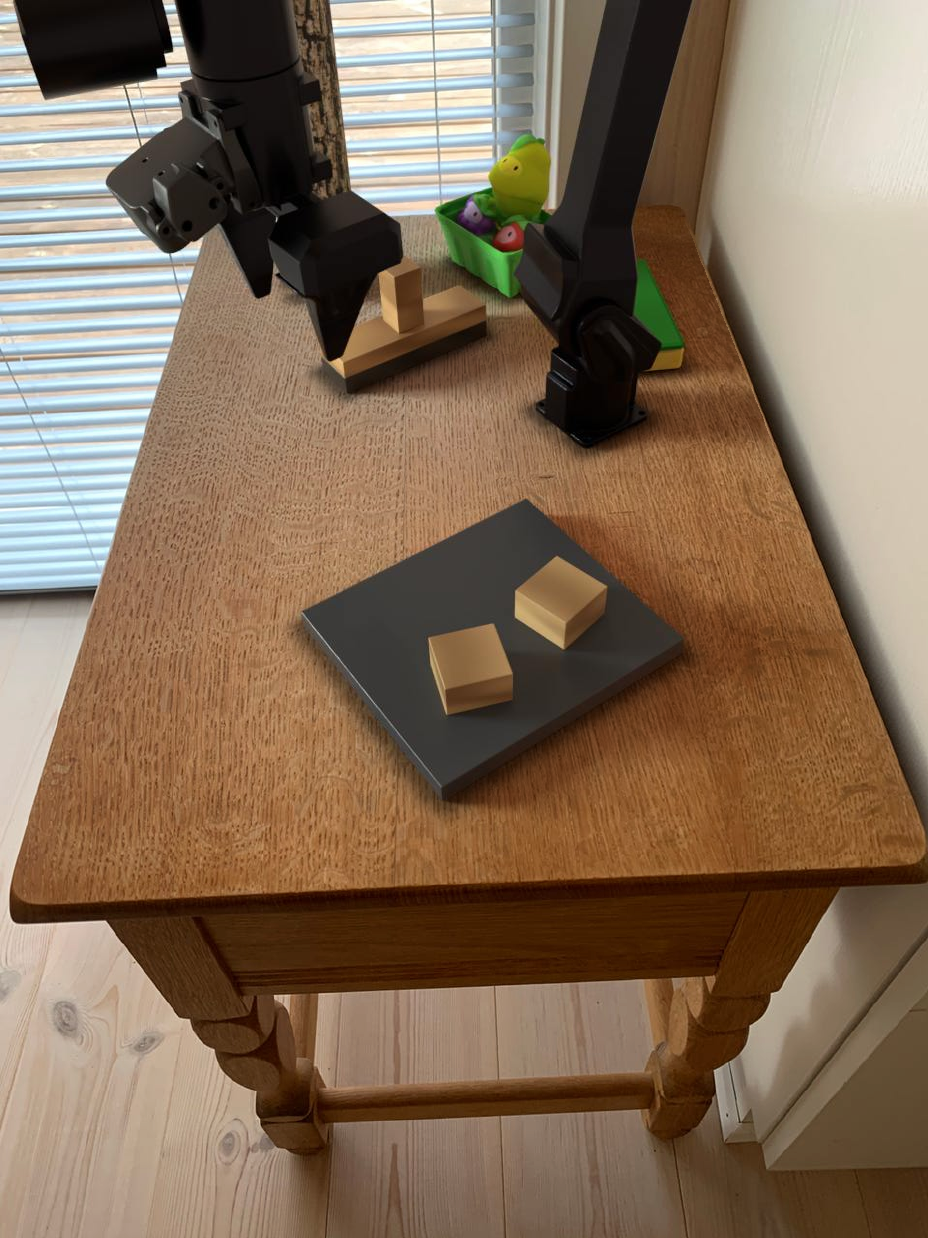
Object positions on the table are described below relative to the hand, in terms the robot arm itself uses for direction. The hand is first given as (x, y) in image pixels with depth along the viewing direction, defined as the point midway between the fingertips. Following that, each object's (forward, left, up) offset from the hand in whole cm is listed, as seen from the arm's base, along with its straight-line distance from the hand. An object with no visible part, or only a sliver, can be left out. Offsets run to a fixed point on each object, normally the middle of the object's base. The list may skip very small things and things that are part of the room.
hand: (296, 325), depth 63 cm
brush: (-14, -11, -13) cm, 22 cm away
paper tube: (-14, -25, -14) cm, 32 cm away
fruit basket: (-29, -17, -14) cm, 36 cm away
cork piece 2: (-5, +21, -12) cm, 25 cm away
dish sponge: (-31, -3, -14) cm, 34 cm away
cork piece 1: (+2, +22, -12) cm, 25 cm away
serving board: (-1, +19, -13) cm, 23 cm away
